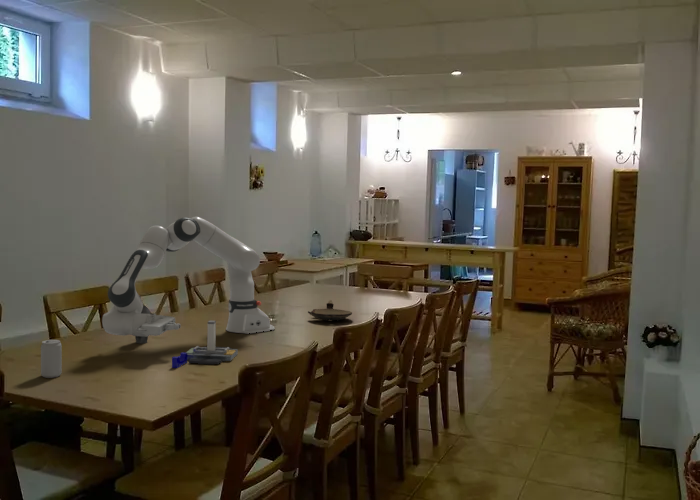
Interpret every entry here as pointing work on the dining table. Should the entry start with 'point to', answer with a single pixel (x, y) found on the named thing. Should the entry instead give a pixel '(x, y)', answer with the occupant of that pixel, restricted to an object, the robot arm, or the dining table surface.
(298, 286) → the dining table surface
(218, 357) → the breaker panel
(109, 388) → the dining table surface
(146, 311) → the beverage cup
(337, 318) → the oil lamp
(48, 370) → the beverage can
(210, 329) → the knob
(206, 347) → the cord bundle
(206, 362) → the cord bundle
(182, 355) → the cable holder
